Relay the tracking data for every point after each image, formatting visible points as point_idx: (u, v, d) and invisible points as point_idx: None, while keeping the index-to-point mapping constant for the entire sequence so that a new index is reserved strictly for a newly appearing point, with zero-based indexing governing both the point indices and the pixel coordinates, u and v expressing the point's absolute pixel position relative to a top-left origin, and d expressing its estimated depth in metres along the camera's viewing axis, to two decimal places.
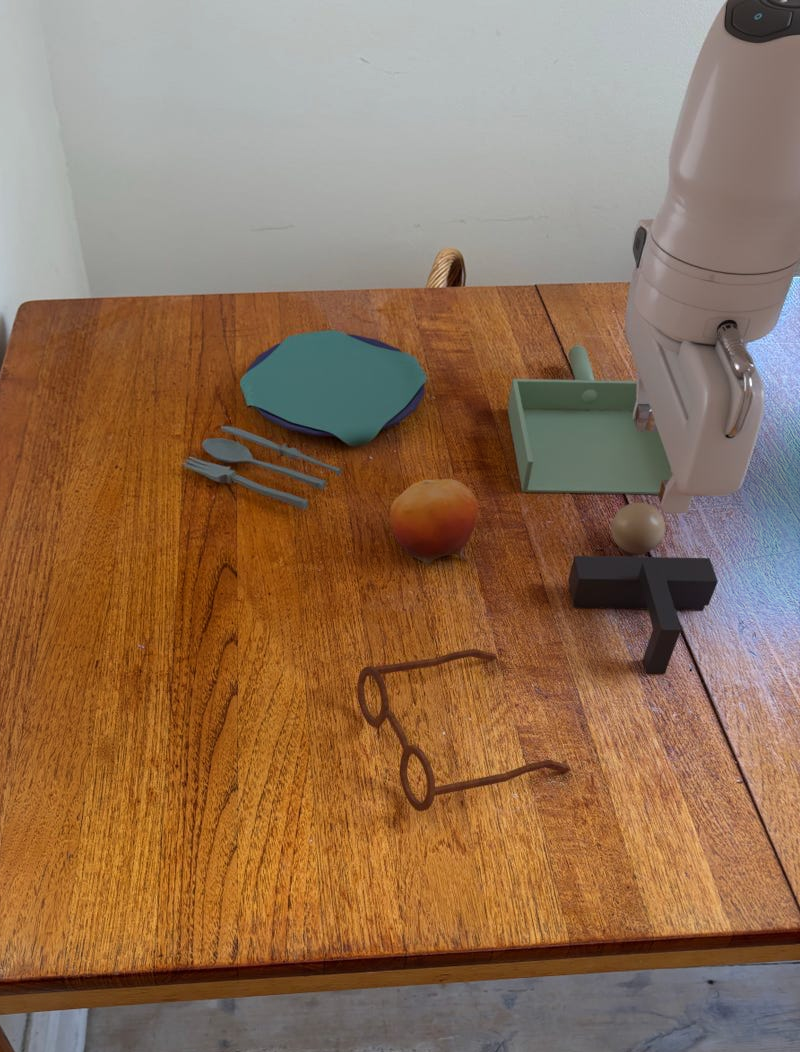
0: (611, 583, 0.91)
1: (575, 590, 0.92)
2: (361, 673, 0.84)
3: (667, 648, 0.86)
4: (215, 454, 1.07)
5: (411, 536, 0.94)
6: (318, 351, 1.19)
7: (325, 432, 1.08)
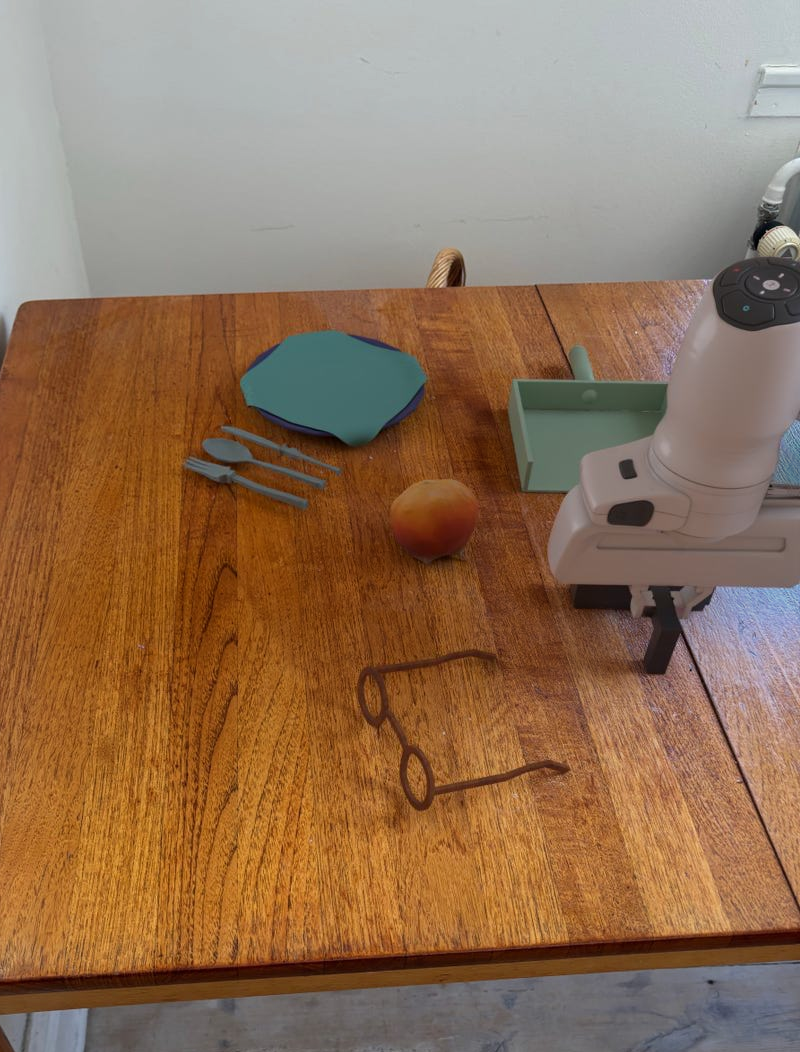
0: None
1: (575, 590, 0.92)
2: (361, 673, 0.84)
3: (667, 648, 0.86)
4: (215, 454, 1.07)
5: (411, 536, 0.94)
6: (318, 351, 1.19)
7: (325, 432, 1.08)
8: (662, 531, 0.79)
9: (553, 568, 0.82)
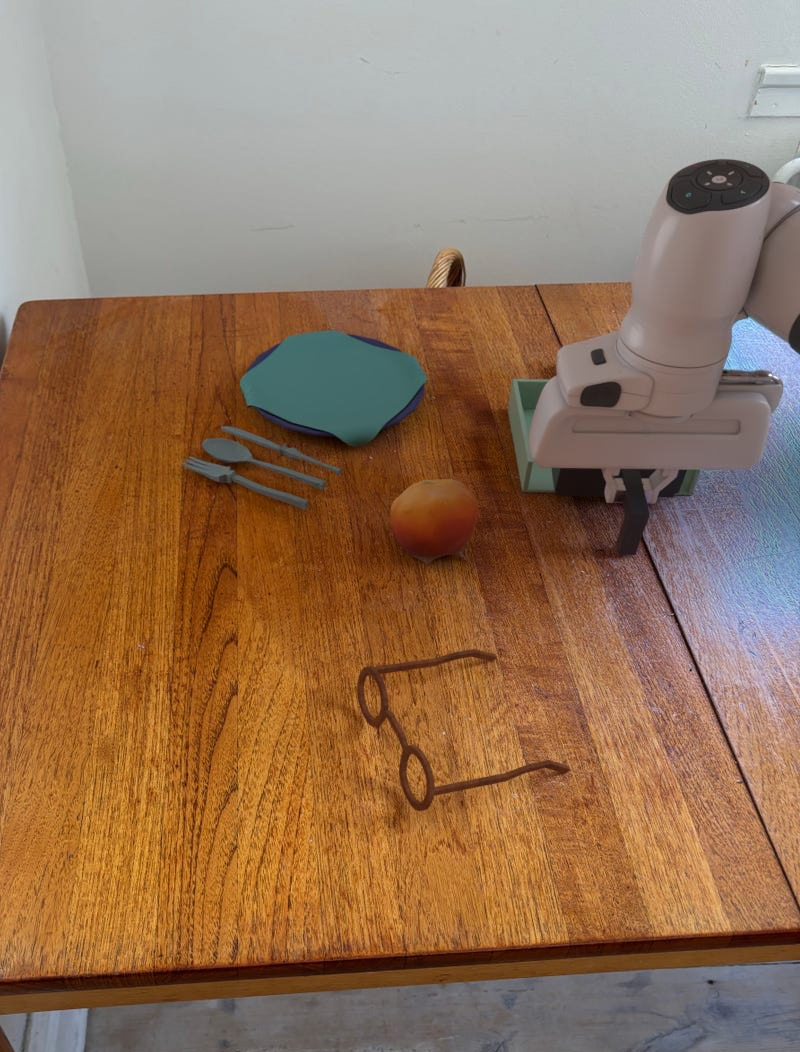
0: (590, 472, 1.00)
1: (557, 479, 1.01)
2: (361, 673, 0.84)
3: (637, 531, 0.95)
4: (215, 454, 1.07)
5: (411, 536, 0.94)
6: (318, 351, 1.19)
7: (325, 432, 1.08)
8: (630, 414, 0.88)
9: (533, 452, 0.92)
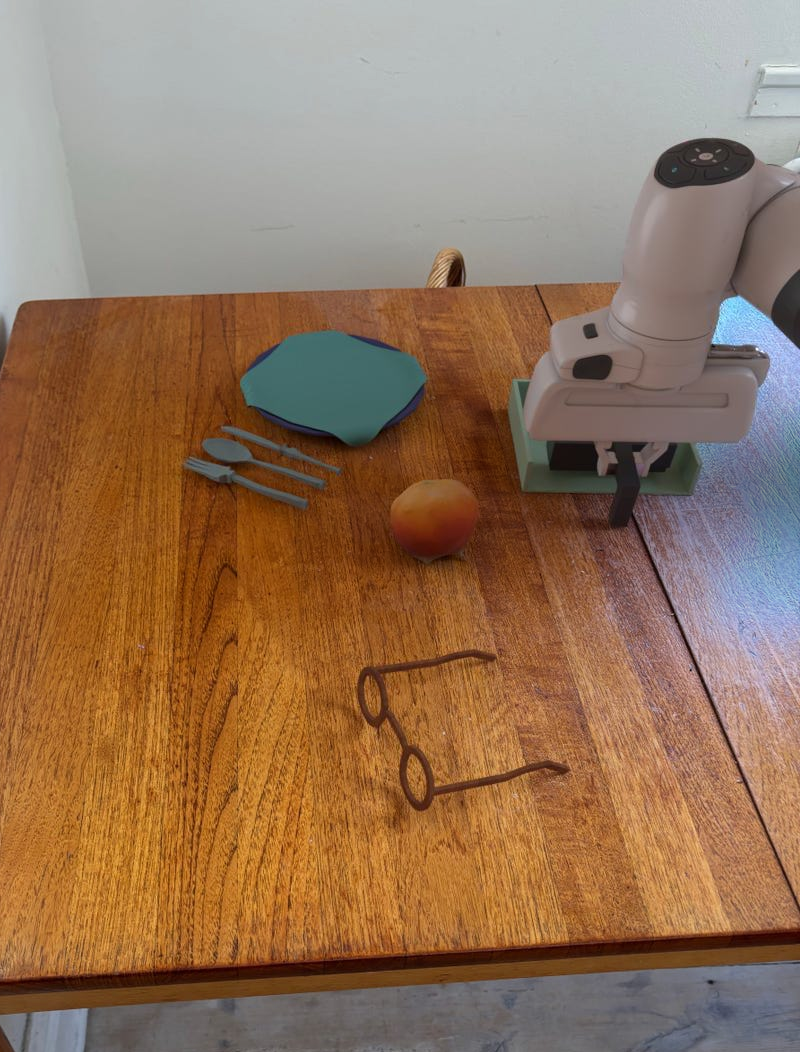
0: (583, 447, 1.02)
1: (551, 454, 1.03)
2: (361, 673, 0.84)
3: (629, 503, 0.98)
4: (215, 454, 1.07)
5: (411, 536, 0.94)
6: (318, 351, 1.19)
7: (325, 432, 1.08)
8: (621, 387, 0.91)
9: (527, 425, 0.94)
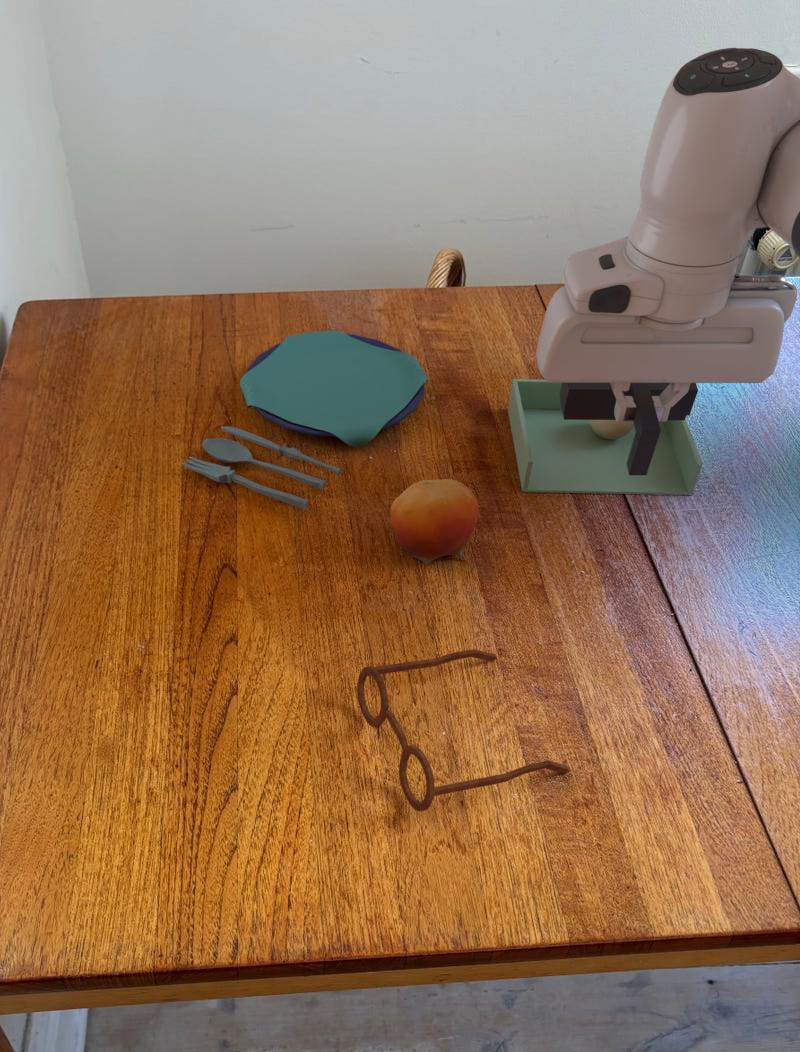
0: (599, 393, 0.97)
1: (565, 401, 0.99)
2: (361, 673, 0.84)
3: (648, 449, 0.93)
4: (215, 454, 1.07)
5: (411, 536, 0.94)
6: (318, 351, 1.19)
7: (325, 432, 1.08)
8: (640, 322, 0.86)
9: (541, 366, 0.90)
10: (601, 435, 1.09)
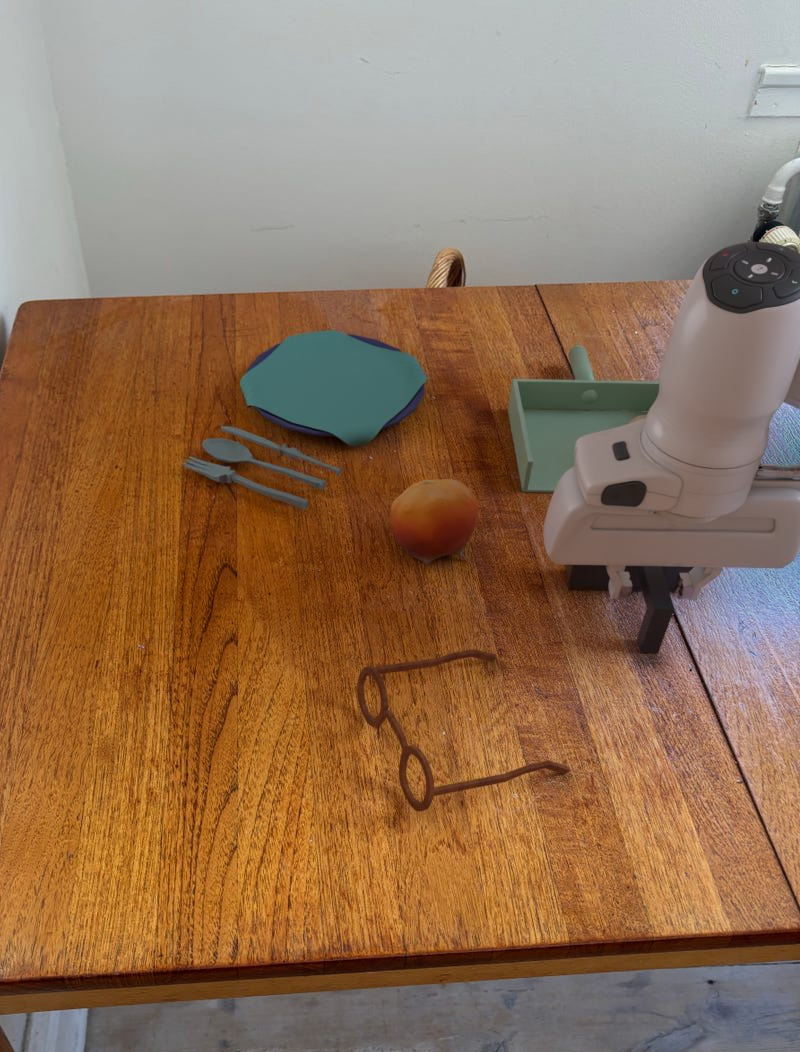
0: None
1: (570, 572, 0.93)
2: (361, 673, 0.84)
3: (660, 627, 0.87)
4: (215, 454, 1.07)
5: (411, 536, 0.94)
6: (318, 351, 1.19)
7: (325, 432, 1.08)
8: (655, 512, 0.81)
9: (548, 549, 0.84)
10: None
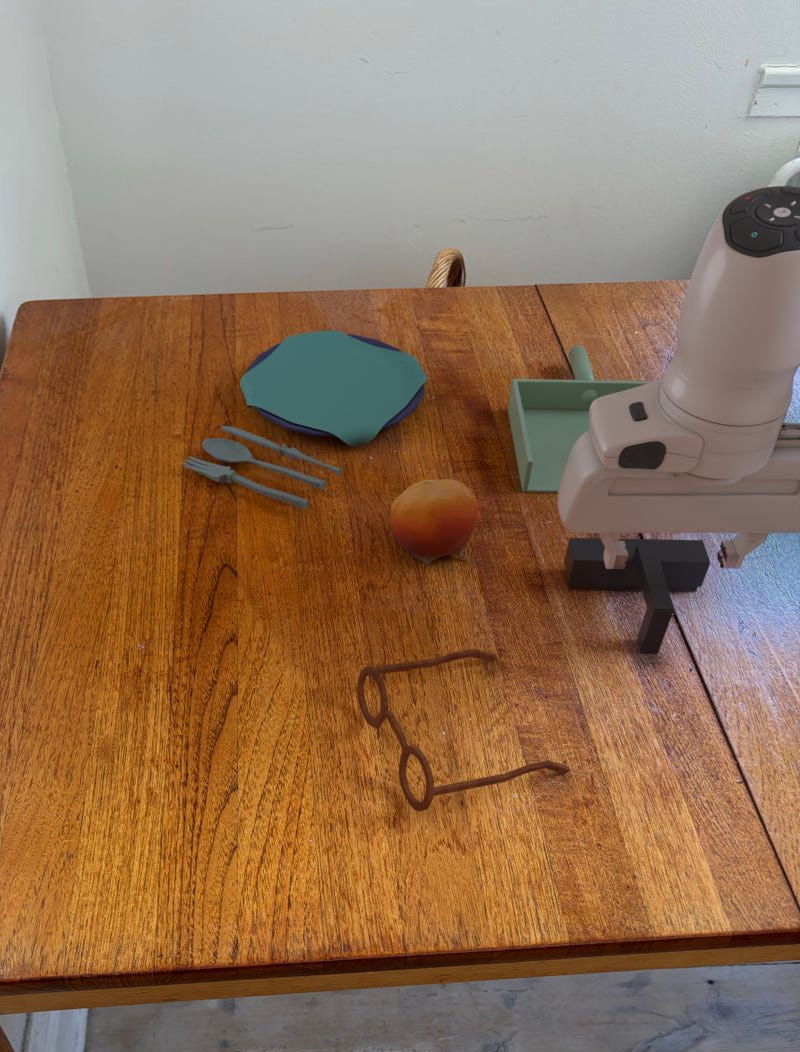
0: None
1: (570, 572, 0.93)
2: (361, 673, 0.84)
3: (660, 627, 0.87)
4: (215, 454, 1.07)
5: (411, 536, 0.94)
6: (318, 351, 1.19)
7: (325, 432, 1.08)
8: (674, 475, 0.77)
9: (564, 517, 0.81)
10: None
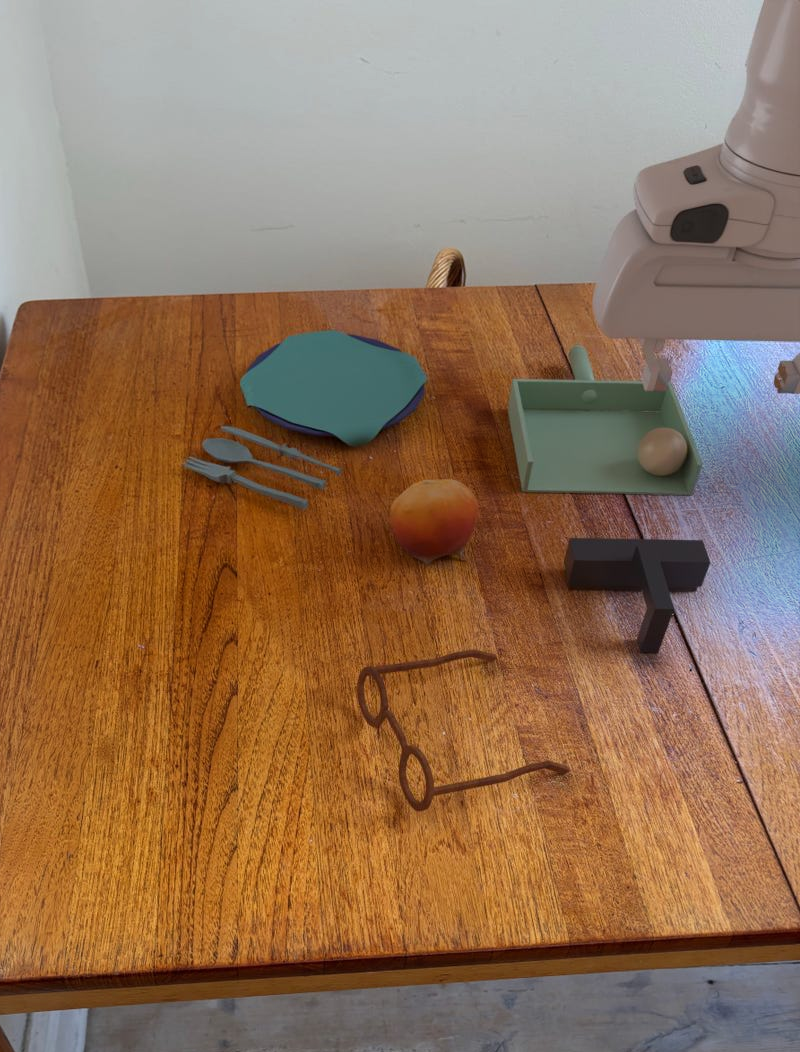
0: (606, 564, 0.92)
1: (570, 572, 0.93)
2: (361, 673, 0.84)
3: (660, 627, 0.87)
4: (215, 454, 1.07)
5: (411, 536, 0.94)
6: (318, 351, 1.19)
7: (325, 432, 1.08)
8: (734, 258, 0.66)
9: (600, 316, 0.69)
10: (644, 443, 1.04)
